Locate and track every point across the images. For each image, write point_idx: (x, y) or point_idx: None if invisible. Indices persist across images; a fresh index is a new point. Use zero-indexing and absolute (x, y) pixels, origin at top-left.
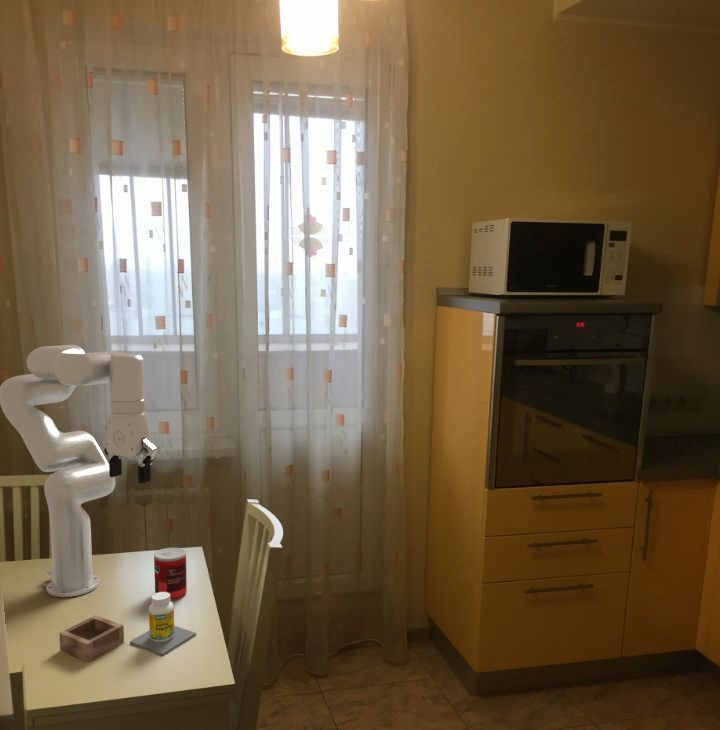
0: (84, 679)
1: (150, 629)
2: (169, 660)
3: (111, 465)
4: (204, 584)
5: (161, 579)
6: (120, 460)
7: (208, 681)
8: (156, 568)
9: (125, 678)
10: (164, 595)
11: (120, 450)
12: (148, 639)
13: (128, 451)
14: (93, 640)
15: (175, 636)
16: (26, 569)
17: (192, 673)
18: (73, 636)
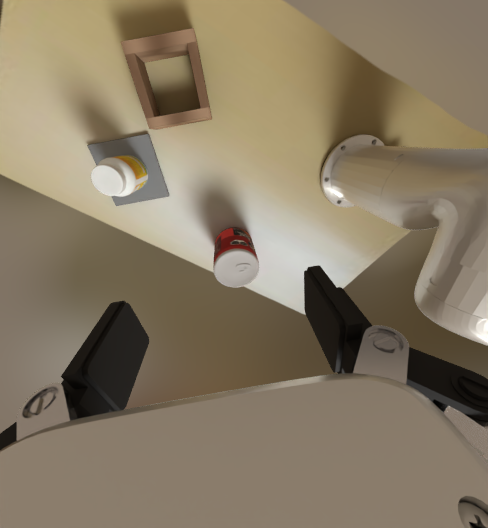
0: (84, 13)
1: (125, 156)
2: (72, 144)
3: (329, 308)
4: None
5: (227, 238)
6: (332, 365)
7: None
8: (237, 242)
9: (54, 67)
10: (104, 185)
11: (157, 489)
12: (136, 155)
13: (3, 524)
14: (128, 58)
15: None
16: None
17: (22, 145)
18: (164, 40)
